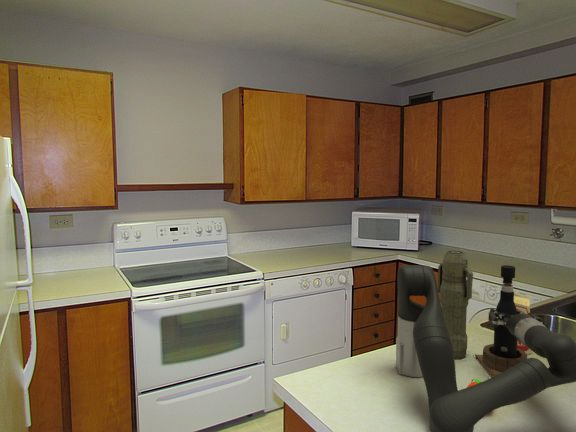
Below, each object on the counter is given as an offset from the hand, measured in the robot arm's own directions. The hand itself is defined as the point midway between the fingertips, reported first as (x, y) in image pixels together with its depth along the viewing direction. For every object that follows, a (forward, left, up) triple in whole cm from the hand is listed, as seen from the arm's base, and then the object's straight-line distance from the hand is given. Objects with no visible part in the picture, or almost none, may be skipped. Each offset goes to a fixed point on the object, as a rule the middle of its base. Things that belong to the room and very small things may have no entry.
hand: (503, 311), depth 129 cm
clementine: (-16, -25, -17) cm, 35 cm away
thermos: (-13, +7, -17) cm, 23 cm away
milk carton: (+10, +13, -17) cm, 24 cm away
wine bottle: (0, -2, -15) cm, 15 cm away
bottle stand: (0, -2, -17) cm, 17 cm away
